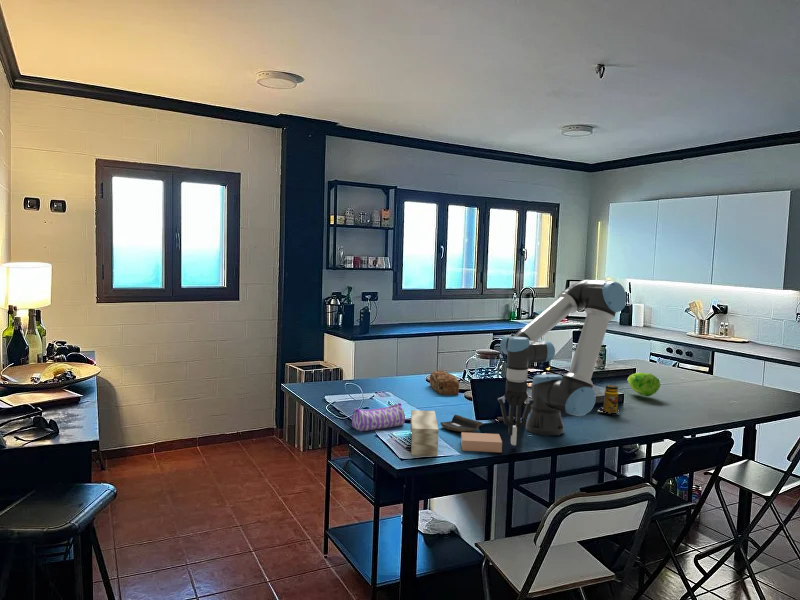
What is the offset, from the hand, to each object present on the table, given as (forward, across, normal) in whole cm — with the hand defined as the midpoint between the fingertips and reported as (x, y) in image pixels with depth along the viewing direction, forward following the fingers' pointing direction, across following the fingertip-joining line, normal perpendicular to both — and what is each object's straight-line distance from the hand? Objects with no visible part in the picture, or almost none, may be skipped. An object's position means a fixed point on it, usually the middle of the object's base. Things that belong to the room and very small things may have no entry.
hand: (513, 443), depth 217 cm
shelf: (+2, +34, 0) cm, 34 cm away
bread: (+2, +19, -85) cm, 87 cm away
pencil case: (+2, +50, -18) cm, 53 cm away
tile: (+2, +12, 0) cm, 12 cm away
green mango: (+1, -85, -96) cm, 128 cm away
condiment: (+2, -55, -58) cm, 80 cm away
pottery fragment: (+3, +19, -18) cm, 26 cm away
